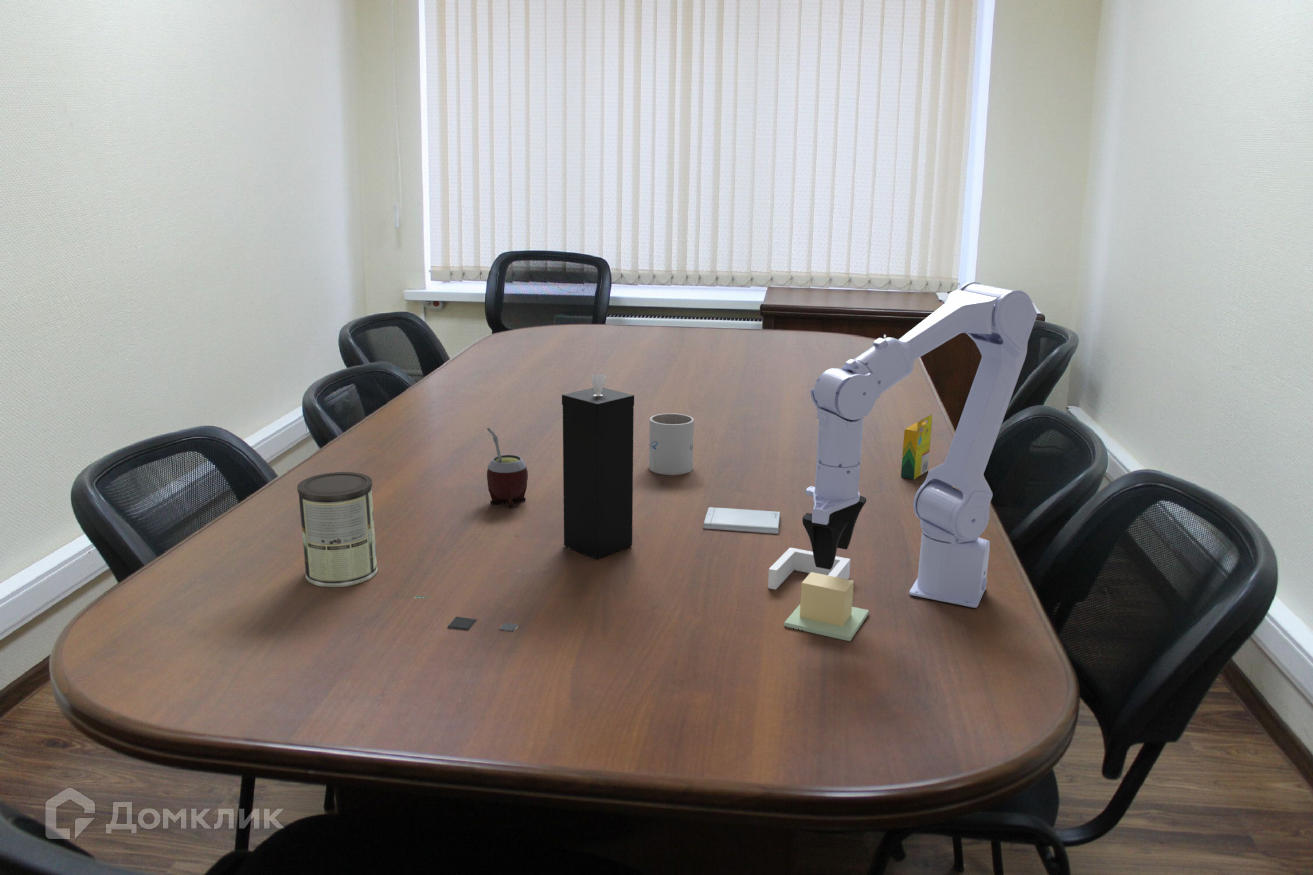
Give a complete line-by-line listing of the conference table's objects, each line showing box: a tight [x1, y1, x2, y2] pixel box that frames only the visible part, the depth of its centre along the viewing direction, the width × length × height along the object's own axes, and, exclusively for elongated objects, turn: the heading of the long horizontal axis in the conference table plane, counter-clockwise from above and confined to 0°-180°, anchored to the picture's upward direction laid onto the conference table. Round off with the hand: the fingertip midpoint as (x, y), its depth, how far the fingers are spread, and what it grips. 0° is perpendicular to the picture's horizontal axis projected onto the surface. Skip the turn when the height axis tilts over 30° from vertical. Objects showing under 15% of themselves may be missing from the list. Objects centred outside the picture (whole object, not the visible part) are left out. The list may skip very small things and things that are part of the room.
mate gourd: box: [486, 427, 529, 509], centre depth 179 cm, size 8×8×15 cm
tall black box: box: [561, 374, 635, 559], centre depth 159 cm, size 8×8×28 cm
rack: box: [767, 547, 852, 590], centre depth 150 cm, size 9×9×3 cm
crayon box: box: [900, 414, 933, 480], centre depth 199 cm, size 7×3×12 cm, turn 144°
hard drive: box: [702, 506, 781, 535], centre depth 174 cm, size 2×8×12 cm
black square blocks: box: [414, 595, 519, 633], centre depth 136 cm, size 14×20×1 cm
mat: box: [783, 603, 870, 642], centre depth 139 cm, size 9×9×1 cm
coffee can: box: [296, 471, 379, 588], centre depth 149 cm, size 10×10×14 cm
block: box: [799, 572, 855, 626], centre depth 138 cm, size 6×4×5 cm, turn 64°
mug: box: [648, 412, 695, 476], centre depth 203 cm, size 12×9×10 cm
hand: (832, 557), depth 138 cm, fingers open, 7 cm apart
